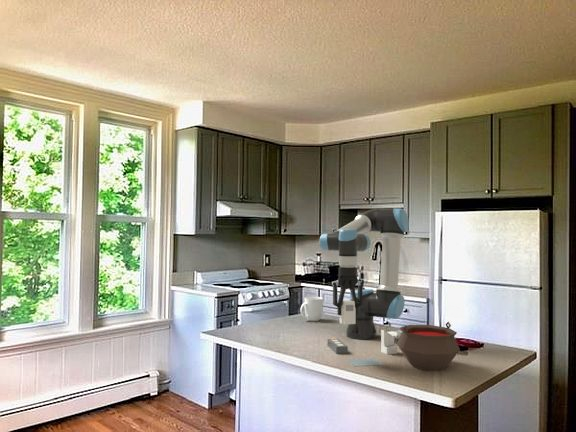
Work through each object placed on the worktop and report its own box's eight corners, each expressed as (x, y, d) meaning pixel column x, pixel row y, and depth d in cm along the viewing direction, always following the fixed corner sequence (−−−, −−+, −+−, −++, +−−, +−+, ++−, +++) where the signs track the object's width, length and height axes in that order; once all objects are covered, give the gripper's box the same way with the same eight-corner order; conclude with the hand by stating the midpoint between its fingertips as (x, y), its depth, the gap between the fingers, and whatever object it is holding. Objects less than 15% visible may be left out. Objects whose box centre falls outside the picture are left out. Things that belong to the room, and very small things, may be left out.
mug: (306, 323, 258) (306, 300, 258) (295, 320, 266) (295, 297, 267) (326, 320, 266) (326, 298, 267) (314, 317, 275) (315, 296, 276)
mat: (374, 359, 186) (374, 358, 186) (383, 365, 177) (383, 364, 177) (346, 360, 184) (346, 359, 184) (354, 367, 175) (354, 366, 175)
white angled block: (373, 348, 195) (381, 329, 197) (388, 357, 198) (396, 338, 201) (378, 350, 191) (386, 331, 194) (394, 359, 195) (402, 340, 197)
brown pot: (424, 377, 163) (424, 331, 164) (384, 360, 185) (384, 319, 186) (474, 370, 173) (473, 326, 173) (430, 354, 195) (430, 316, 195)
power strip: (334, 342, 213) (334, 334, 213) (347, 353, 194) (347, 345, 194) (323, 343, 212) (324, 335, 213) (336, 354, 193) (336, 345, 193)
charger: (349, 321, 191) (349, 300, 192) (355, 324, 184) (354, 301, 185) (339, 322, 190) (339, 300, 191) (344, 324, 183) (344, 301, 184)
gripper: (364, 265, 193) (364, 320, 192) (324, 265, 190) (324, 321, 189) (371, 267, 186) (371, 324, 185) (329, 267, 182) (329, 325, 182)
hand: (347, 322), depth 187 cm, fingers closed on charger, 4 cm apart
